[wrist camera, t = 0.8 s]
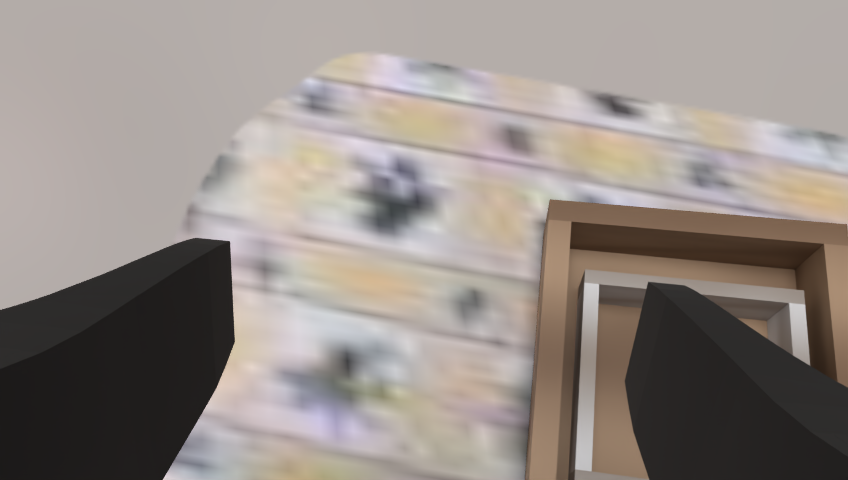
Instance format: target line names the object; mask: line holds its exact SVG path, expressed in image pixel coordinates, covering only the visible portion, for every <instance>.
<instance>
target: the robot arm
mask: <svg viewBox="0 0 848 480" xmlns="http://www.w3.org/2000/svg"><path fill="white" fill-rule="evenodd" d="M234 342H235V337H234V316H233V295H232V275H231V254H230V241H222V240H211V239H201V238H193V239H189V240H186V241H183V242H180V243H177V244H174V245H172V246H169V247H167V248H164V249H162V250H160V251H157V252H155V253H152V254H150V255H147V256H145V257H143V258H140V259H138V260H136V261H133V262H131V263H128V264H126V265H124V266H121V267H119V268H117V269H114V270H112V271H110V272H107V273H105V274H102V275H100V276H97V277H94V278H92V279H89V280H87V281H84V282H81V283H79V284H76V285H73V286H71V287H68V288H66V289H63V290H60V291H58V292H55V293H52V294H50V295H47V296H44V297H41V298H38V299H35V300H32V301H29V302H26V303H23V304H19V305H16V306H13V307H10V308H6V309H2V310H0V480H163V478H164V477H165V475H166V473H167V472H168V470H169V468H170V466H171V465H172V463H173V461H174V460H175V458H176V456H177V455H178V453H179V451H180V450H181V448H182V446H183V445H184V443H185V441H186V439H187V438H188V436H189V434H190V433H191V431H192V429H193V428H194V426H195V424H196V423H197V421H198V419H199V417H200V416H201V414H202V412H203V410H204V409H205V407H206V405H207V404H208V402H209V400H210V398H211V397H212V395H213V393H214V391H215V389H216V388H217V385H218V383H219V380H220V378H221V376H222V373H223V371H224V369H225V366H226V363H227V361H228V358H229V356H230V353H231V350H232V348H233V345H234ZM625 387H626V393H627V400H628V406H629V411H630V417H631V422H632V427H633V432H634V435H635V438H636V441H637V444H638V447H639V450H640V453H641V456H642V459H643V462H644V465H645V469H646V472H647V474H648V477H649V480H848V387H846V386H844V385H842V384H840V383H839V382H837V381H835V380H833V379H832V378H830V377H828V376H826V375H825V374H823V373H821V372H820V371H818V370H816V369H815V368H813V367H811V366H810V365H808V364H806V363H805V362H803V361H801V360H800V359H798V358H796V357H795V356H793V355H792V354H790V353H789V352H787V351H785V350H784V349H782V348H781V347H779V346H778V345H776V344H775V343H773V342H772V341H770V340H769V339H767V338H766V337H764V336H763V335H761V334H760V333H758V332H757V331H755V330H754V329H752V328H751V327H749V326H748V325H746V324H745V323H743V322H742V321H740V320H739V319H738V318H736V317H735V316H733V315H732V314H730V313H729V312H727V311H726V310H724V309H723V308H721V307H720V306H718V305H717V304H715V303H714V302H712V301H711V300H709V299H708V298H706V297H705V296H703V295H702V294H700V293H698V292H697V291H695V290H693V289H691V288H689V287H687V286H685V285H677V284H666V283H656V282H648V284H647V288H646V293H645V297H644V301H643V305H642V310H641V314H640V318H639V322H638V327H637V331H636V335H635V339H634V343H633V348H632V352H631V356H630V360H629V365H628V369H627V373H626V377H625Z"/></svg>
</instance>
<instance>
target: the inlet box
mask: <svg viewBox="0 0 848 480" xmlns="http://www.w3.org/2000/svg"><path fill="white" fill-rule="evenodd" d="M648 282H656V283H666V284H677V285H685V286H687V287H689V288H691V289H693V290H695V291H697V292H698V293H700V294H702V295H703V296H705V297H706V298H708V299H709V300H711V301H712V302H714V303H715V304H717V305H718V306H720V307H721V308H723V309H724V310H726V311H727V312H729V313H730V314H732V315H733V316H735V317H736V318H738V319H739V320H740V321H742V322H743V323H745V324H746V325H748V326H749V327H751V328H752V329H754V330H755V331H757V332H758V333H760V334H761V335H763V336H764V337H766V338H767V339H769V340H770V341H772V342H773V343H775V344H776V345H778V346H779V347H781V348H782V349H784V350H785V351H787V352H789V353H790V354H792V355H793V356H795V357H796V358H798V359H800V360H801V361H803V362H805V363H806V364H808V365H810V366H811V367H813V368H815V369H816V370H818V371H820V372H821V373H823V374H825V375H826V376H828V377H830V378H832V379H833V380H835V381H837V382H839V383H840V384H842V385H844V386H846V387H848V230H847V224H835V223H823V222H811V221H799V220H787V219H775V218H764V217H752V216H740V215H728V214H716V213H704V212H692V211H680V210H669V209H657V208H645V207H633V206H621V205H609V204H597V203H585V202H574V201H562V200H550V202H549V208H548V213H547V218H546V224H545V229H544V236H543V249H542V262H541V275H540V288H539V301H538V314H537V327H536V340H535V354H534V367H533V380H532V393H531V406H530V419H529V432H528V445H527V458H526V471H525V480H649V477H648V474H647V472H646V469H645V465H644V462H643V459H642V456H641V453H640V450H639V447H638V444H637V441H636V438H635V435H634V432H633V427H632V422H631V417H630V411H629V406H628V400H627V393H626V387H625V377H626V373H627V369H628V365H629V360H630V356H631V352H632V348H633V343H634V339H635V335H636V331H637V327H638V322H639V318H640V314H641V310H642V305H643V301H644V297H645V293H646V288H647V284H648Z"/></svg>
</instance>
